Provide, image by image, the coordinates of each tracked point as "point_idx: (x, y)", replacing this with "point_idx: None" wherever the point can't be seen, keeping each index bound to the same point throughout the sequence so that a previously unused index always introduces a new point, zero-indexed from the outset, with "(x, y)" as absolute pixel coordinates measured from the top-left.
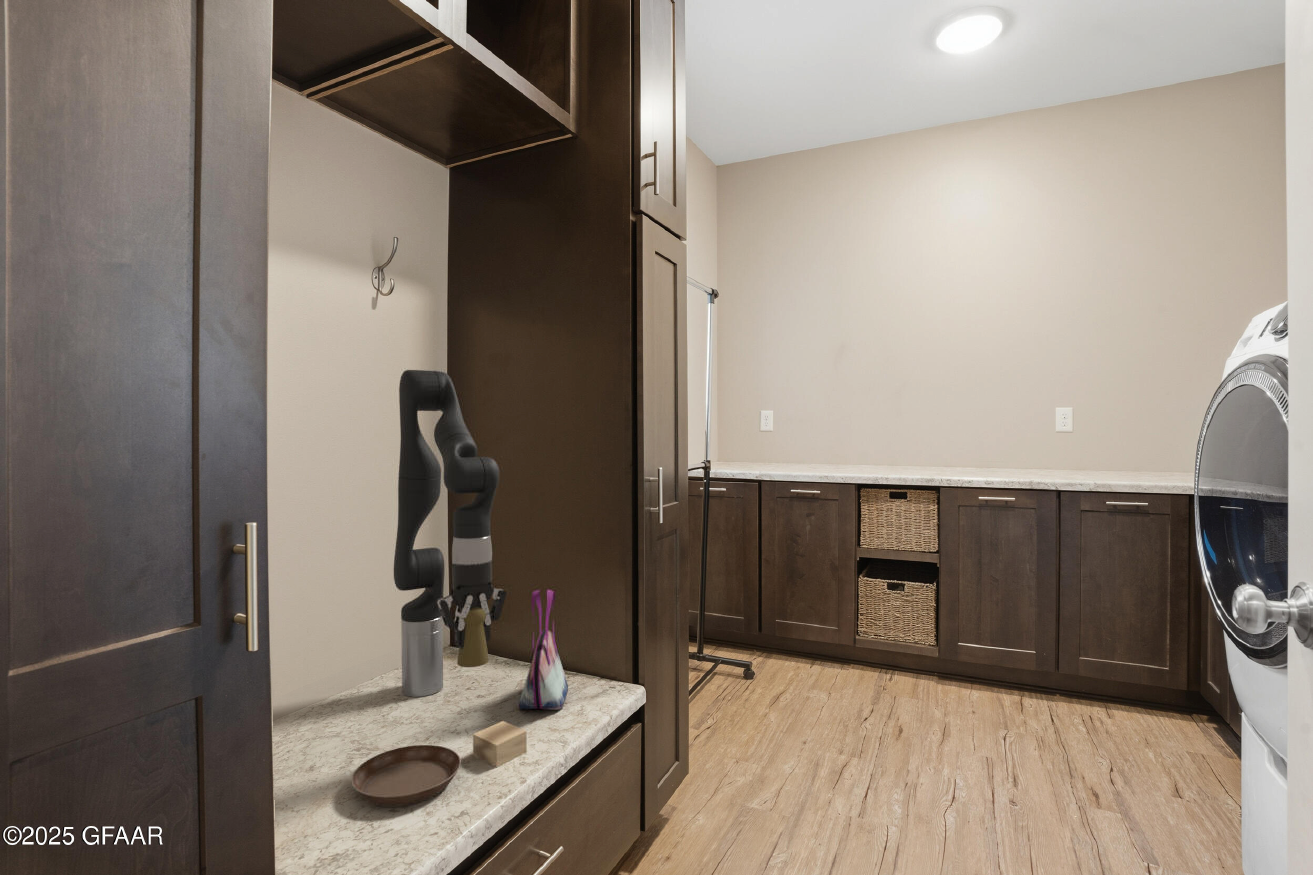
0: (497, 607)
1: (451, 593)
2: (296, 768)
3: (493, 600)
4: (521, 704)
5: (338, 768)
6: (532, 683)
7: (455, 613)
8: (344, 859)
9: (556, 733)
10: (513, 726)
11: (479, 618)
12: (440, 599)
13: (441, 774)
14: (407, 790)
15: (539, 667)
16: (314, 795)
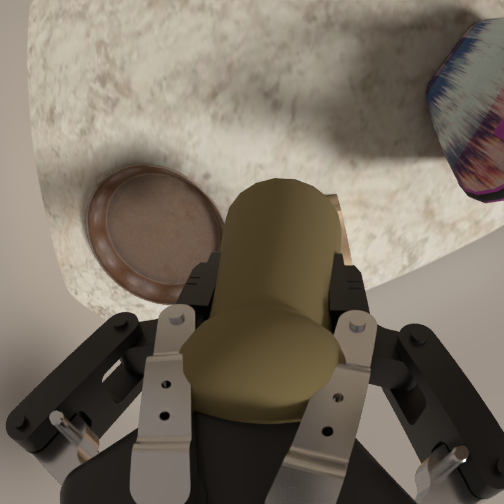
0: (409, 433)
1: (71, 498)
2: (38, 107)
3: (450, 418)
4: (429, 110)
5: (78, 133)
6: (456, 177)
7: (148, 357)
8: (108, 317)
9: (422, 227)
10: (345, 244)
11: None
12: (30, 454)
13: (206, 241)
14: (158, 254)
15: (487, 202)
16: (62, 192)
